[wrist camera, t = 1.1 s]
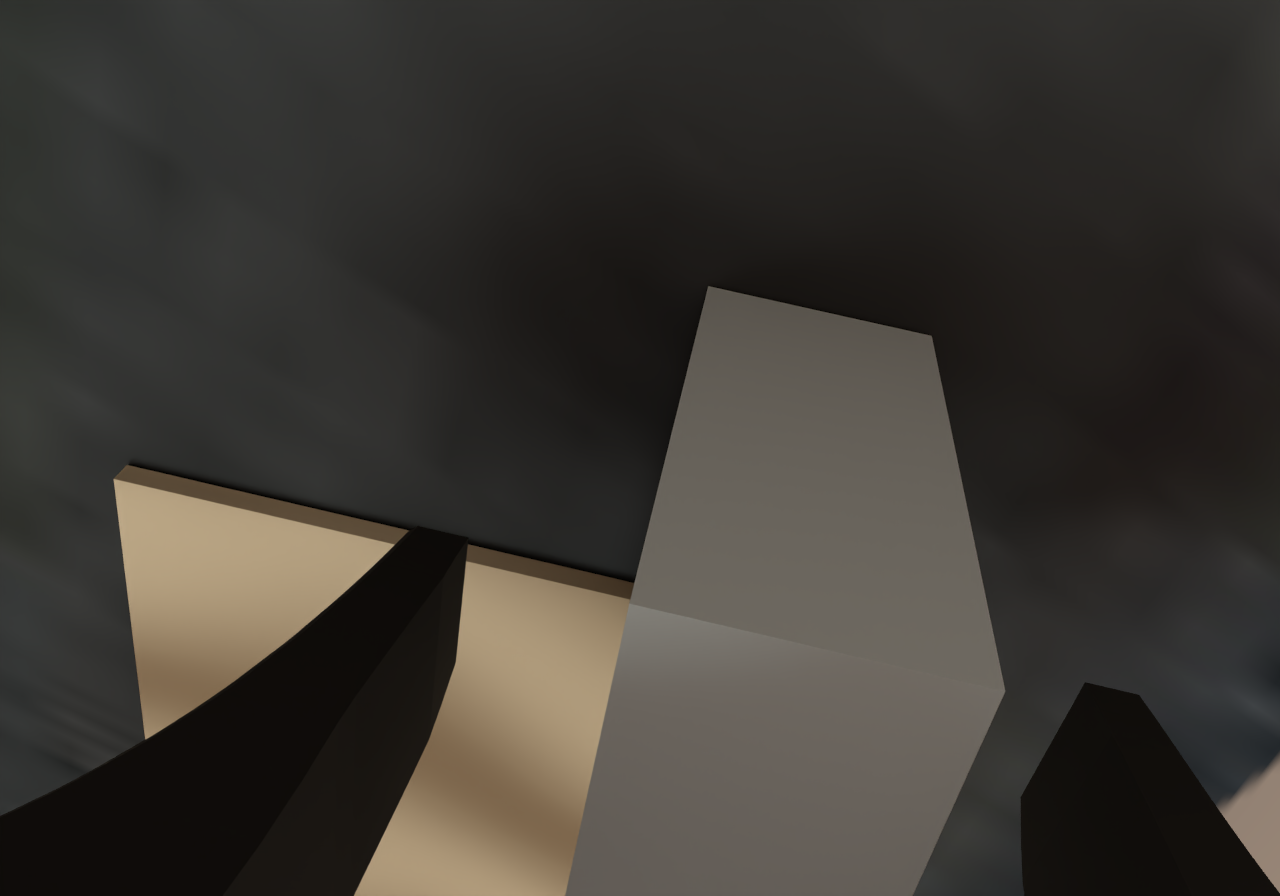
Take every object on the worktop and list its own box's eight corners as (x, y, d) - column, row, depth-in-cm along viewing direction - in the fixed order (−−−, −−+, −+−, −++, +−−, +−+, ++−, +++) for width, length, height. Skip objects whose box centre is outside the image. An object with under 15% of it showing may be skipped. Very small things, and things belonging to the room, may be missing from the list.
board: (716, 1007, 24) (714, 1025, 24) (173, 873, 24) (163, 889, 24) (857, 634, 18) (858, 652, 18) (127, 465, 18) (113, 479, 18)
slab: (815, 677, 18) (810, 1118, 12) (630, 634, 18) (530, 1049, 12) (931, 335, 15) (1005, 691, 9) (708, 285, 15) (629, 604, 9)
